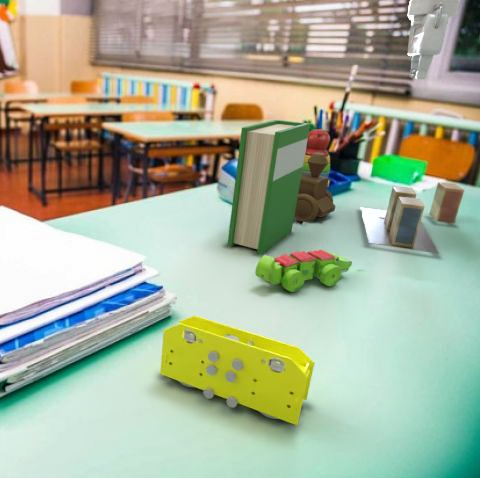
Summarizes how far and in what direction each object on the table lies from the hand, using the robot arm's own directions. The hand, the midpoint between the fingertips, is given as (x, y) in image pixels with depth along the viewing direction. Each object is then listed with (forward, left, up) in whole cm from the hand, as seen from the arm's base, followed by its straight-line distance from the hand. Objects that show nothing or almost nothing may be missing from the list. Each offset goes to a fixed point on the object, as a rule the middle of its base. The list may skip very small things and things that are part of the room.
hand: (417, 78), depth 105 cm
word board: (-2, +3, -34) cm, 34 cm away
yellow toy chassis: (+23, +77, -34) cm, 87 cm away
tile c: (-14, -11, -34) cm, 38 cm away
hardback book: (+26, +23, -34) cm, 48 cm away
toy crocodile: (+17, +42, -34) cm, 56 cm away
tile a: (-2, +3, -33) cm, 33 cm away
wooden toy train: (+22, +1, -34) cm, 40 cm away
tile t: (-2, +13, -33) cm, 35 cm away
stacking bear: (+18, -26, -34) cm, 46 cm away
